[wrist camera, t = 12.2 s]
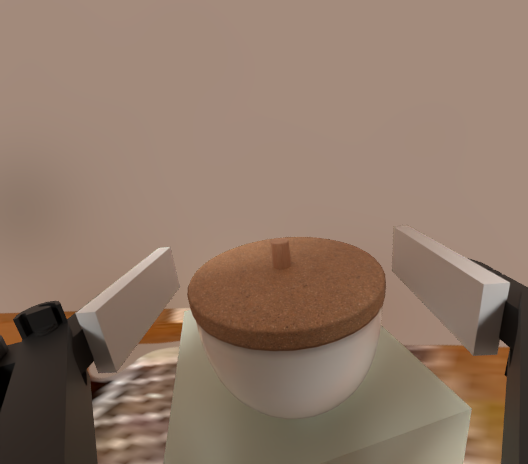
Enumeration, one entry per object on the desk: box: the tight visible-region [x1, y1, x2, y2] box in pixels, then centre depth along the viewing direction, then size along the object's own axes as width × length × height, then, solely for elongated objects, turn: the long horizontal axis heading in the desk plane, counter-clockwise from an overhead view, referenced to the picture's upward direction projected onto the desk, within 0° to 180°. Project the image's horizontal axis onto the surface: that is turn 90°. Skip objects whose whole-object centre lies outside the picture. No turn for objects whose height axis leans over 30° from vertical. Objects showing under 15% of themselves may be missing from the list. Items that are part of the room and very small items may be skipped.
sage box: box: [163, 310, 472, 464], centre depth 20 cm, size 16×16×6 cm
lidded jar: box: [187, 237, 386, 419], centre depth 15 cm, size 11×11×9 cm
